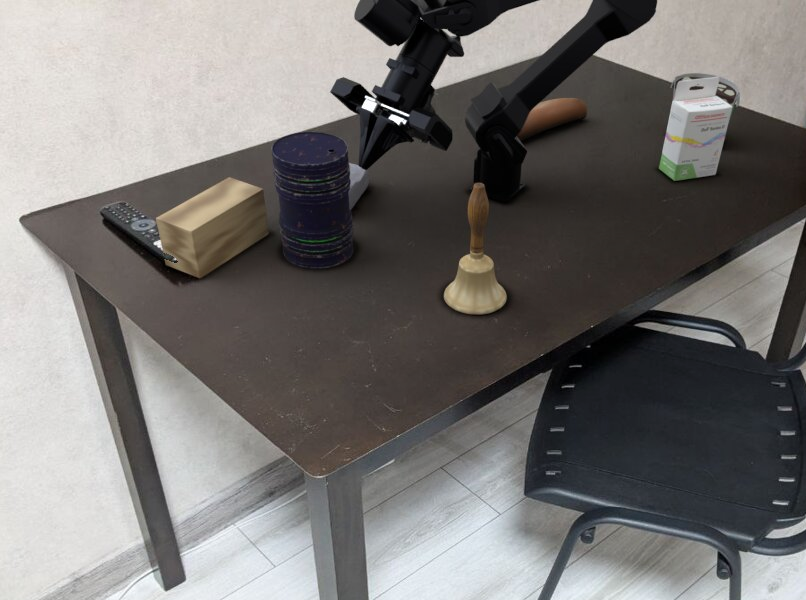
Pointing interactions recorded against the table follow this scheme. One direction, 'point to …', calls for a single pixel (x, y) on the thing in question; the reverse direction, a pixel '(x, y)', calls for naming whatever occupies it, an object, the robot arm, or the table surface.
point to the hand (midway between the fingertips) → (362, 168)
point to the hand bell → (476, 266)
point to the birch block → (213, 226)
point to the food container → (724, 90)
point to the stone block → (357, 183)
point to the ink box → (695, 130)
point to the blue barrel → (313, 198)
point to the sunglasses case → (552, 115)
